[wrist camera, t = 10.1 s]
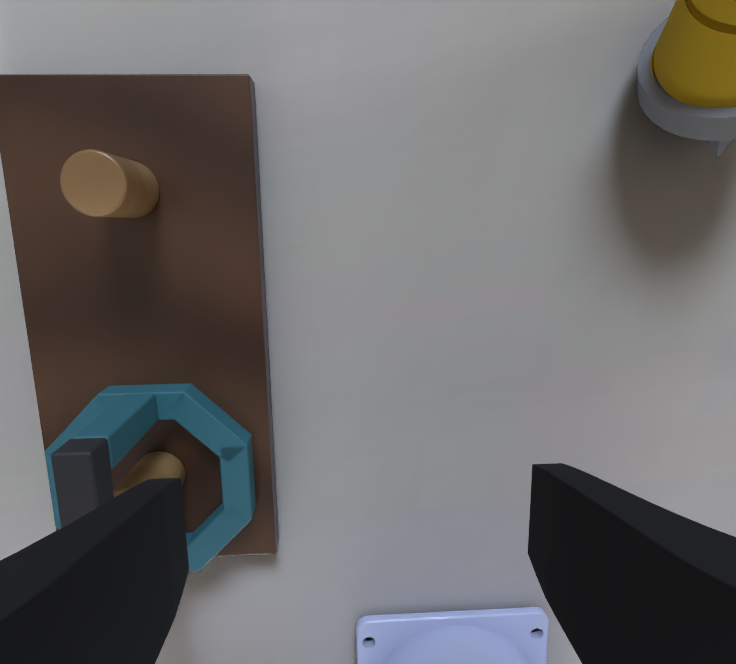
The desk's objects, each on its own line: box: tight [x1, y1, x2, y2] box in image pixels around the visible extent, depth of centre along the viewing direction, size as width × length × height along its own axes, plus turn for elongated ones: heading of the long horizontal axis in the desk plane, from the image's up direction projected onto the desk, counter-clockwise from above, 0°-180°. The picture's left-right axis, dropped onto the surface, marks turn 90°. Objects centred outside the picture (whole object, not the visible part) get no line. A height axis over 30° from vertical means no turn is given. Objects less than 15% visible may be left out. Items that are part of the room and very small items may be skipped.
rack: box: [0, 74, 279, 557], centre depth 17 cm, size 17×8×4 cm, turn 1°
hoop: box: [45, 383, 256, 572], centre depth 16 cm, size 7×7×6 cm
